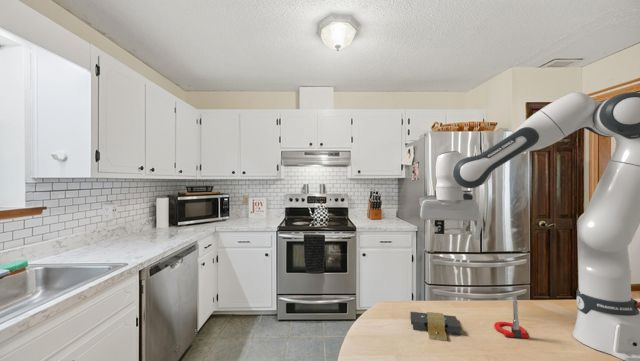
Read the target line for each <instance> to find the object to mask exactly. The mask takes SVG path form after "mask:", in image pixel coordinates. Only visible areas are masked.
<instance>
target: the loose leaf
mask: <svg viewBox="0 0 640 361" xmlns="http://www.w3.org/2000/svg"><path fill="white" fill-rule="evenodd" d="M426 313H427V326H426V328H427V333H428V340H437V341H443V342H447V341H448V340H447V339H448V337H447V333H446V328H445V318H444V315H445V314H444V313H442V312H431V311H426Z"/></svg>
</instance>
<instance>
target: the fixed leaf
mask: <svg viewBox="0 0 640 361" xmlns="http://www.w3.org/2000/svg"><path fill="white" fill-rule="evenodd" d="M443 315H444V318H445V330H446V331H447V334H448V335H453V336H454V335H457V336H461V326H460V324H459V321H458V318H457V317H456V315H449V314H448V315H447V314H443ZM410 325H412V330H413V331H420V332H421V331H422V332H425V331H426V330H425V327H427V312H417V311H410Z"/></svg>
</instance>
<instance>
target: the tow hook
mask: <svg viewBox="0 0 640 361" xmlns="http://www.w3.org/2000/svg"><path fill="white" fill-rule="evenodd" d="M512 305H513V306H512V308H513V310H512V312H513V313H512V314H513V316H512V317H513V319H512V322H508V321H497V322H495V323H493V324H494V328H495V330H497V331H498V332H500V333H502V334H503V336H504V337H507V338H515V339H529V338H530V334H529V332H527V331H526V329H525V328H524V327H522V326H521V325H520V321H519V306H518V305H519V304H518V299H517V294H513V300H512ZM502 327H503V328H502ZM504 327H510V329H511V331H510V330H507V329H505V328H504Z"/></svg>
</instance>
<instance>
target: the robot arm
mask: <svg viewBox="0 0 640 361" xmlns="http://www.w3.org/2000/svg"><path fill="white" fill-rule="evenodd" d="M582 128H583V129H585V130H588V132H589V131H590V132H591V133H593V134H595V135H598V136H600V137H604V138H605V137H606V138H614V139H615V144H616V145H615V149H614V152H613V154H612V155H611V157H610V159H609V161H608V163H607V165H606V167H605V169H604V171H603V173H602V175H601V177H600V179H599V181H598V183H597V185H596V187H595V189H594V191H593V194H592V196H591V197H590V200H589V202H588V204H587V207H586V209H585V211H584V212H583V213H582V214H581V215H580V216H579V217H578V219H577V221H576V222H577V223H576V231H577V233H576V234H577V236H576V237H577V270H578V272H577V274H578V275H577V276H578V277H577V278H578V282H577V284H578V288H577V289H576V308H577V315H576V319H575V320H576V321H575V325H574V328H573V330H572V332H571V333H572V336H573V337H574V339H576V340H577V341H579V342H580V343H581V344H583V345H585V346H587V347H589V348H592V349H595V350H597V351H599V352H602V353H606V354H608V355H612V356H614V357H616V358H617V359H620V360H622V361H640V301H639V302H638V301H637V300H636V299H634V298H632V288H631V287H632V285H631V284H632V282H631V281H632V279H631V278H632V277H631V276H632V274H631V271H632V270H631V266H630V265H631V264H630V258H629V257H630V255H629V247H628V246H629V245H630V244H631V243H632V241H633V239H634V237H635V235H636V233H637V231H638V228H639V227H640V92H638V91H637V92H636V91H630V92H623V93H618V94H617V95H614V96H612V97H610V98H608V99H605V100H603V101H602V100H601V101H598V100H596V99H593V98H592V97H591V96H590V95H589V94H587V93H584V92H579V91H575V92H570V93H568V94H566V95H564V96H562V97H559V98H557V99H555V100H554V101H552V102H550V103H549V104H547V105H545V106H543V107H542V108H541V109H539V110H538V111H536V112H534V113H533V114H532V115H530V116H529V117H528V118H526V119H525V120H524V121H523V122H522V123H521V124H520V125H519V126H517V128H516V129H515V130H513V131H512V132H511V134H509V135H508V136H507V137H505V138H504V139H502V140H500V141H499V142H497V143H495V145H492V146H491V147H489V148H488V149H487V150H485V151H483V152H481V153H480V154H477V155H473V156H467V155H465V154H463V153H461V152H459V150H452V151H451V150H450V151H446V152H442V153H441V154H439V155H438V156H437V158H436V159H435V162H436V163H435V179H436V185H435V194H432V195H429V194H428V195H423V196H420V197H419V199H418V201H419V202H418V204H419V206H420V212H419V215H420V216H419V217H420V219H421V220H425V221H429V223H430V224H431V226H432V228H433V229H432V230H433V233H438V232H439V230H438V229H439V227H438V226H435V221H463V226H461V227H460V231H459V232H460V233H461V234H466V231H467V227H468V226H469V225H470V222H478V221H479V220H480V219H481V213H480V207H479V204H478V202H477V201H476V200H477V196H476V195H475V194H474V193H470V192H468V191H463V189H462V188H465V189H474V188H478V187H481V186H482V185H484V184H487V182H489V180H490V178H491V176H492V172H493V171H494V170H496V169H497V168H499V167H500V166H502V165H504V164H506V163H508V162H509V161H510V160H512V159H514V158H515V157H517V156H519V155H522V154H524V153H527V152H531V151H538V150H542V149H544V148H547V147H549V146H551V145H554V144H555V143H558V142H559V141H561V140H562V139H564V138H566V137H568V136H569V135H571V134H573V133H574V132H576V131H578V130H579V129H582Z"/></svg>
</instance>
